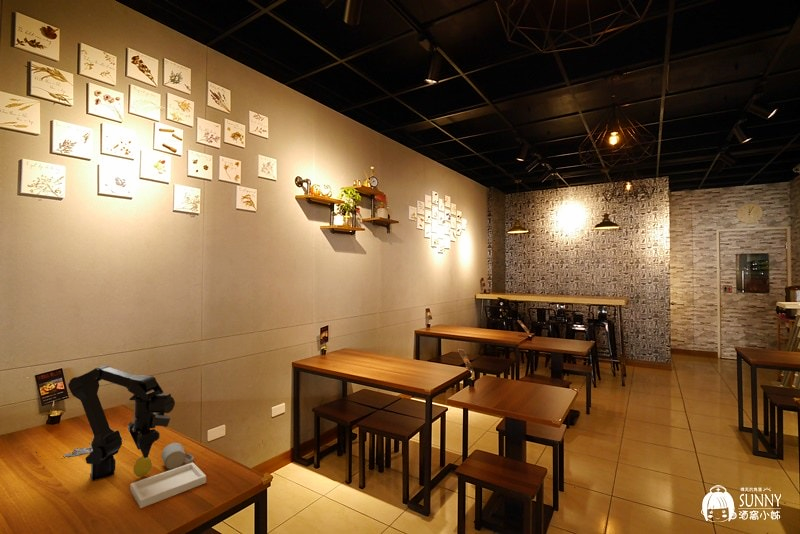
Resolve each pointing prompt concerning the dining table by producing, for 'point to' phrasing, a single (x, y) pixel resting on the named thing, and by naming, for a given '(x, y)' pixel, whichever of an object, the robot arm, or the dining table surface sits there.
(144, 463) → the lemon
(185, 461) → the ceramic mug
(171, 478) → the tray
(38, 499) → the dining table surface
